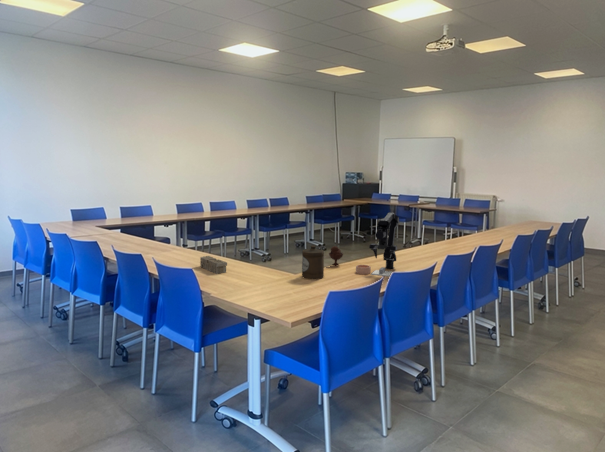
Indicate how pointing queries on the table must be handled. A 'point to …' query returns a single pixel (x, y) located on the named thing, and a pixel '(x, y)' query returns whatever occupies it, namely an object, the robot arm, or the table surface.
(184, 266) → the table surface
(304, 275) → the wooden container
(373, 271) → the mat
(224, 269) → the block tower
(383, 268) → the lid
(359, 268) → the bowl
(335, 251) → the brown egg chair
